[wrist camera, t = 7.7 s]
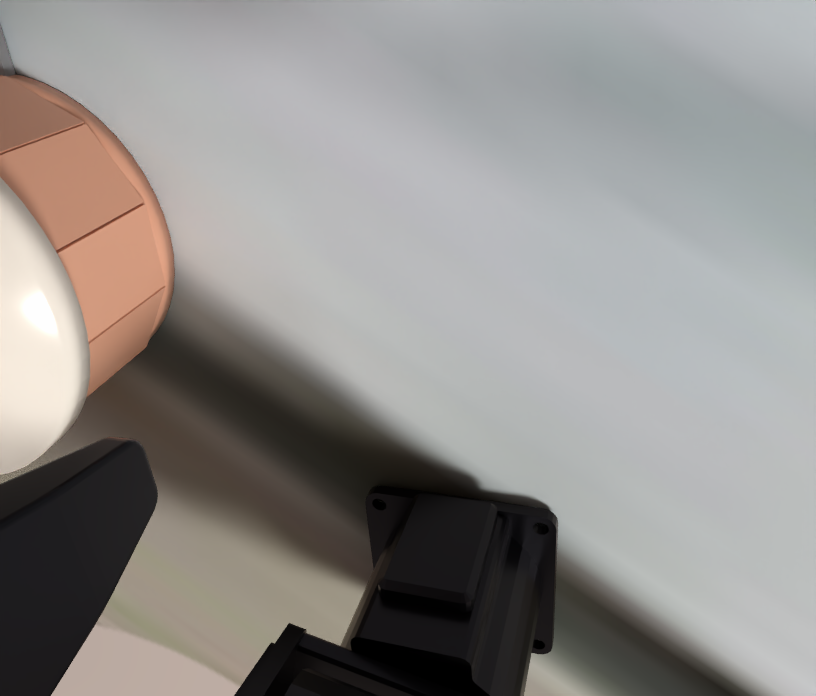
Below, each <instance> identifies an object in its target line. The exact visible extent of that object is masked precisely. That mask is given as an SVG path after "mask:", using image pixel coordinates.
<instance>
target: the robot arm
mask: <svg viewBox="0 0 816 696" xmlns="http://www.w3.org/2000/svg"><path fill="white" fill-rule="evenodd" d="M157 497H158V492H157V487H156V483H155V480H154V477H153V474H152V471H151V468H150V465H149V462H148V459H147V456H146V453H145V450H144V448H143V446H142V445H141V444H140V443H139V441H136V440H134V439H127V438H118V437H107V438H104V439H101V440H99V441H97V442H95V443H92V444H90V445H88V446H86V447H83V448H81V449H79V450H76V451H74V452H72V453H70V454H67V455H65V456H63V457H61V458H58V459H56V460H54V461H51V462H49V463H47V464H45V465H42V466H40V467H38V468H36V469H33V470H31V471H29V472H26V473H24V474H22V475H20V476H17V477H15V478H13V479H11V480H8V481H6V482H4V483H1V484H0V696H51V694H52V693H53V691H54V690H55V688H56V686H57V685H58V683H59V682H60V680H61V678H62V677H63V675H64V674H65V672H66V670H67V669H68V667H69V666H70V664H71V662H72V661H73V659H74V658H75V656H76V655H77V653H78V651H79V650H80V648H81V647H82V645H83V643H84V642H85V640H86V639H87V637H88V635H89V634H90V632H91V631H92V629H93V627H94V626H95V624H96V622H97V621H98V619H99V617H100V616H101V614H102V612H103V610H104V608H105V607H106V605H107V603H108V601H109V599H110V597H111V595H112V593H113V591H114V589H115V587H116V585H117V583H118V581H119V579H120V577H121V575H122V573H123V571H124V569H125V567H126V565H127V564H128V562H129V560H130V558H131V556H132V554H133V552H134V550H135V548H136V546H137V544H138V542H139V540H140V538H141V536H142V534H143V532H144V530H145V528H146V526H147V524H148V522H149V520H150V518H151V516H152V514H153V512H154V510H155V507H156V503H157ZM378 499H381V500H383V501H384V502H385V503H383V502H380V501H379V500H378ZM366 510H367V518H368V526H369V534H370V543H371V551H372V559H373V567H374V571H373V573H372V575H371V578H370V580H369V582H368V584H367V587H366V589H365V591H364V593H363V596H362V598H361V600H360V602H359V605H358V607H357V609H356V612H355V614H354V616H353V618H352V621H351V623H350V625H349V627H348V630H347V632H346V634H345V637H344V639H343V641H342V643H341V646H339V645H336V644H334V643H331V642H328V641H326V640H323V639H321V638H318V637H315V636H313V635H310V634H307V633H306V629H303V628H301V627H298V626H296V625H293V624H290V623H289V624H288V625H287V627H286V628H285V630H284V631H283V633H282V634H281V635H280V637H279V638H278V640H277V641H276V643H271V644H270V645H269V646H268V648H267V649H266V651H265V652H264V653H263V655H262V656H261V658H260V659H259V661H258V662H257V664H256V665H255V666H254V668H253V669H252V671H251V672H250V674H249V675H248V677H247V678H246V679H245V681H244V682H243V684H242V685H241V687H240V688H239V689H238V691H237V692H236V694H235V695H234V696H524V692H525V686H526V680H527V675H528V669H529V663H530V658H531V653H536V654H546V653H549V652H550V651H551V649H552V645H553V638H554V613H555V588H556V563H557V538H558V520H557V517H556V516H555V515H554V513H552V512H551V511H549V510H546V509H542V508H535V507H528V506H521V505H514V504H507V503H500V502H493V501H486V500H479V499H472V498H464V497H457V496H450V495H443V494H436V493H429V492H422V491H415V490H408V489H401V488H394V487H387V486H375V487H373V488H372V489H371V490H370V492H369V494H368V496H367V498H366ZM537 523H544V524H546V525H547V526H540V525H538V524H537Z"/></svg>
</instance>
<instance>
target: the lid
mask: <svg viewBox="0 0 816 696" xmlns="http://www.w3.org/2000/svg"><path fill="white" fill-rule="evenodd" d="M89 380H90V349H89V342H88V335H87V329H86V325H85V322H84V318H83V314H82V310H81V306H80V304H79V301H78V298H77V296H76V293H75V290H74V288H73V285H72V283H71V280H70V278H69V276H68V274H67V272H66V270H65V268H64V266H63V264H62V262H61V260H60V258H59V256H58V254H57V252H56V251H55V249H54V247H53V246H52V244H51V242H50V241H49V239H48V238H47V236H46V234H45V233H44V231H43V229H42V228H41V226H40V225H39V224H38V222H37V221H36V220H35V218H34V217H33V216H32V214H31V213H30V212H29V210H28V209H27V208H26V206H25V205H24V203H23V202H22V201H21V200H20V199H19V197H18V196H17V195H16V194H15V193H14V192H13V191H12V190H11V188H10V187H9V186H8V185H7V184H6V183H5V182H4V180H3V179H2V178H1V177H0V475H1V474H6V473H11V472H14V471H16V470H18V469H21V468H23V467H26V466H27V465H29V464H30V463H31V462H33V461H34V460H36V459H37V458H39V457H40V456H41V455H42V454H43V453H44V452H46V451H47V450H48V449H49V448H50V447H51V446H52V445H54V444H55V443H56V442H57V441H58V440H59V439H60V438H62V437H63V436H64V435H65V433H66V432H67V431H68V430H69V429H70V428H71V427H72V426H73V424H74V423H75V421H76V419H77V418H78V416H79V414H80V413H81V411H82V408H83V405H84V402H85V399H86V397H87V392H88V386H89Z"/></svg>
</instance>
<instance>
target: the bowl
mask: <svg viewBox="0 0 816 696" xmlns="http://www.w3.org/2000/svg"><path fill="white" fill-rule="evenodd" d="M0 177H1V178H2V179H3V180H4V182H5V183H6V184H7V185H8V186H9V187H10V188H11V190H12V191H13V192H14V193H15V194H16V195H17V196H18V197H19V199H20V200H21V201H22V202H23V203H24V205H25V206H26V208H27V209H28V210H29V212H30V213H31V214H32V216H33V217H34V218H35V220H36V221H37V222H38V224H39V225H40V226H41V228H42V229H43V231H44V233H45V234H46V236H47V238H48V239H49V241H50V242H51V244H52V246H53V247H54V249H55V251H56V252H57V254H58V256H59V258H60V260H61V262H62V264H63V266H64V268H65V270H66V272H67V274H68V276H69V278H70V280H71V283H72V285H73V288H74V290H75V293H76V296H77V298H78V301H79V304H80V306H81V310H82V314H83V318H84V322H85V325H86V329H87V335H88V342H89V349H90V380H89V386H88V392H87V397H88V396H89V395H90V394H91V393H92V392H94V391H95V390H96V389H97V388H98V387H100V386H101V385H102V384H103V383H104V382H106V381H107V380H108V379H109V378H110V377H112V376H113V375H114V374H115V373H116V372H118V371H119V370H120V369H121V368H122V367H123V366H125V365H126V364H127V363H128V362H129V361H131V360H132V359H133V358H134V357H135V356H137V355H138V354H139V353H140V352H141V351H143V350H144V349H145V348H146V347H147V345H148V342H149V339H150V338H151V337H152V336H153V335H154V334H155V333H156V332H157V330H158V329H159V327H160V326H161V324H162V323H163V321H164V319H165V317H166V314H167V312H168V309H169V307H170V303H171V299H172V294H173V289H174V276H175V270H174V254H173V249H172V243H171V237H170V233H169V230H168V227H167V223H166V220H165V217H164V214H163V212H162V209H161V207H160V204H159V202H158V199H157V197H156V195H155V193H154V191H153V189H152V187H151V186H150V184H149V182H148V180H147V178H146V176H145V175H144V173H143V172H142V170H141V169H140V167H139V166H138V164H137V163H136V161H135V160H134V158H133V157H132V155H131V154H130V153H129V152H128V150H127V149H126V148H125V147H124V145H123V144H122V143H121V142H120V141H119V139H118V138H117V137H116V136H115V135H114V134H113V133H112V132H111V131H110V130H109V129H108V128H107V127H106V126H105V125H104V124H103V123H102V122H101V121H100V120H99V119H98V118H96V117H95V116H94V115H93V114H92V113H90V112H89V111H88V110H87V109H86V108H84V107H83V106H82V105H80V104H79V103H77V102H76V101H74V100H73V99H71V98H70V97H68V96H67V95H65V94H64V93H62V92H60V91H58V90H56V89H54V88H52V87H50V86H48V85H46V84H44V83H42V82H39V81H36V80H34V79H31V78H28V77H25V76H21V75H17V74H15V75H11V76H3V75H0ZM87 397H86V398H87Z"/></svg>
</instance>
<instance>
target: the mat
mask: <svg viewBox="0 0 816 696" xmlns="http://www.w3.org/2000/svg"><path fill="white" fill-rule="evenodd" d="M15 74H16V73H15V70H14V67H13V63H12V60H11V57H10V54H9V50H8V47H7V44H6V41H5V38H4V34H3V31H2V28H1V25H0V75H3V76H11V75H15Z"/></svg>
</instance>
